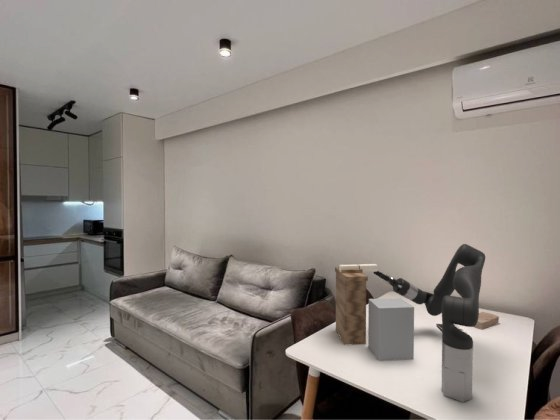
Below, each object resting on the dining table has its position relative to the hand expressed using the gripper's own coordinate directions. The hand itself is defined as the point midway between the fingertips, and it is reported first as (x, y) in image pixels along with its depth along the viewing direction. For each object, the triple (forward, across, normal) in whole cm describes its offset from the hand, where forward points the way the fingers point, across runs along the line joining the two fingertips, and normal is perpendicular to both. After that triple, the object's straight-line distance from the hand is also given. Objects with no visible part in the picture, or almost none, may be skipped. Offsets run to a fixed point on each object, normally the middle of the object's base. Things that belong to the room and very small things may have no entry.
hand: (377, 273), depth 151 cm
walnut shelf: (-4, 0, +34) cm, 34 cm away
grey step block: (-15, +17, +27) cm, 35 cm away
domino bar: (+9, 0, +4) cm, 10 cm away
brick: (-69, -9, -4) cm, 69 cm away
